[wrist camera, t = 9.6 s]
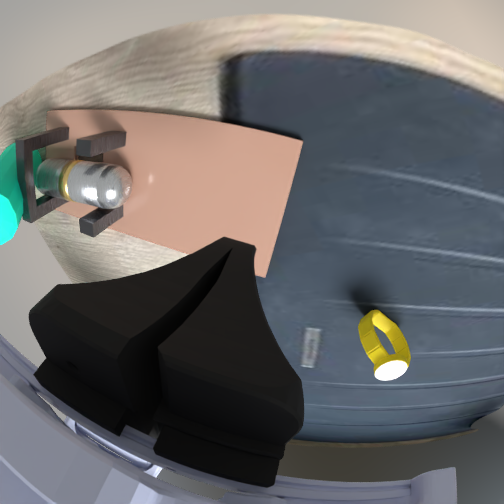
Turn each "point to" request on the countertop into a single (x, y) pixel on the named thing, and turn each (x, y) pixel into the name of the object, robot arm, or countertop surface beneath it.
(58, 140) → the black upright posts
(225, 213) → the plate
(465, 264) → the countertop surface
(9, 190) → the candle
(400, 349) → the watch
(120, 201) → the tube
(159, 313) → the robot arm
